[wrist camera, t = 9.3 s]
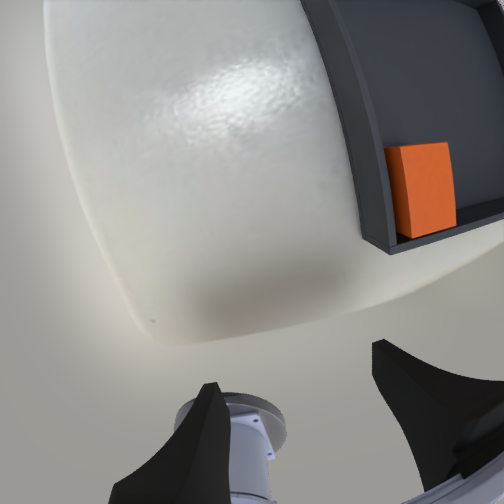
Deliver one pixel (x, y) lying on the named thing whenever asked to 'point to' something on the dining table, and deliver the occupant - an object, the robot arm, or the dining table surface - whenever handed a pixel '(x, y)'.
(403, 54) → the bin
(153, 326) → the dining table surface
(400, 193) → the orange block
